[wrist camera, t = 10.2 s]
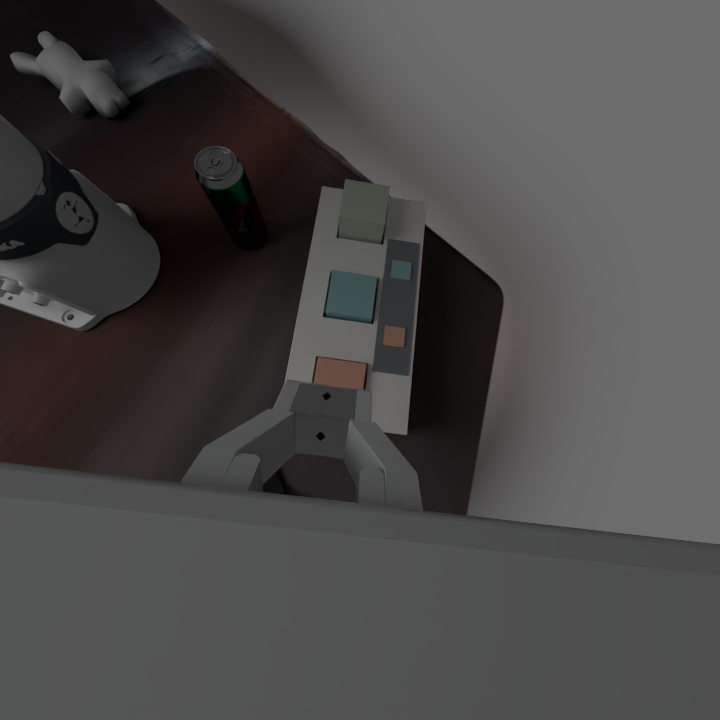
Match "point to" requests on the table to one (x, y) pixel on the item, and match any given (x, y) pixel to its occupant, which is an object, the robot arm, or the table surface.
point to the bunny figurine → (75, 77)
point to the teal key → (351, 297)
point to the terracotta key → (340, 373)
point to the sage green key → (363, 211)
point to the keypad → (390, 311)
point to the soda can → (231, 195)
